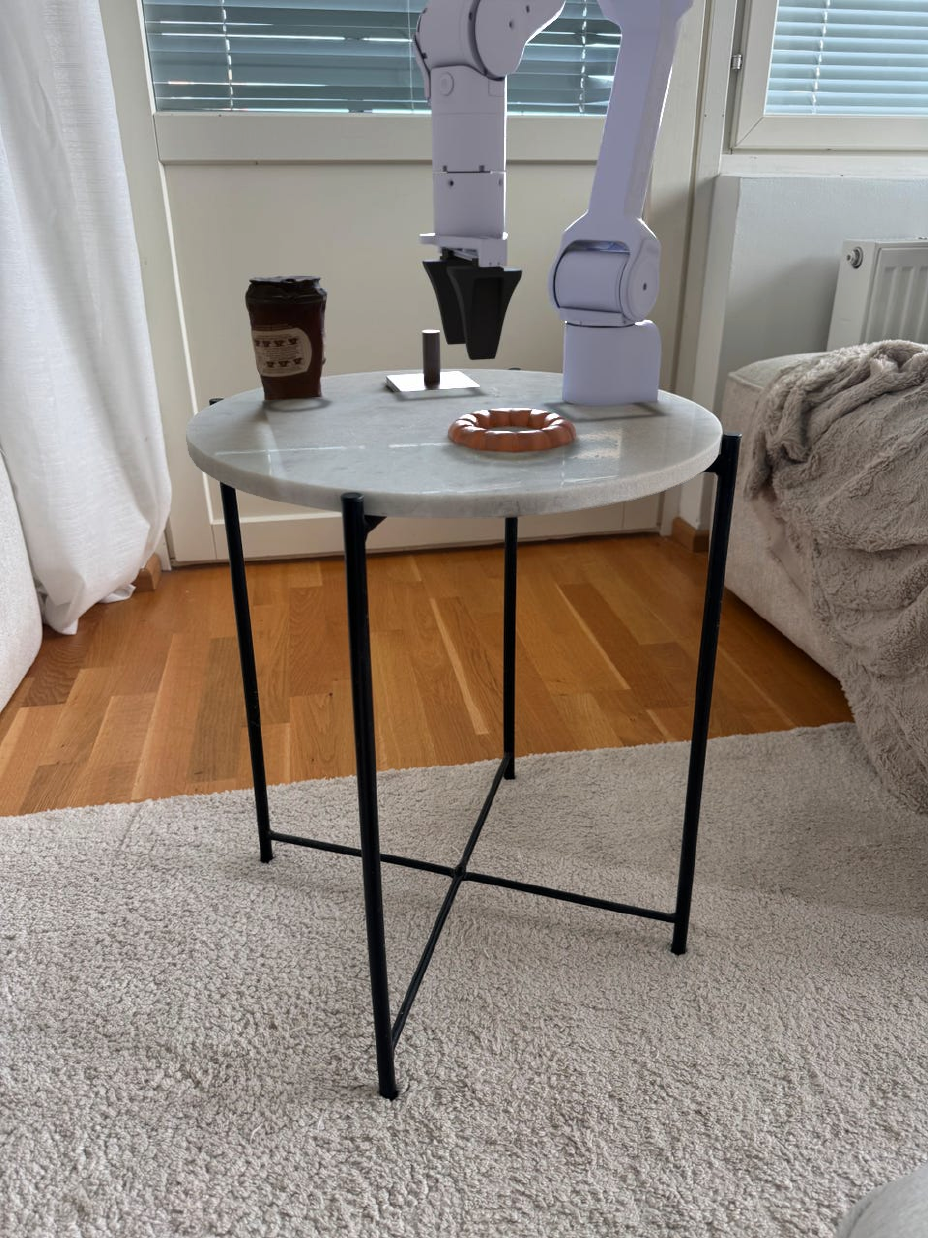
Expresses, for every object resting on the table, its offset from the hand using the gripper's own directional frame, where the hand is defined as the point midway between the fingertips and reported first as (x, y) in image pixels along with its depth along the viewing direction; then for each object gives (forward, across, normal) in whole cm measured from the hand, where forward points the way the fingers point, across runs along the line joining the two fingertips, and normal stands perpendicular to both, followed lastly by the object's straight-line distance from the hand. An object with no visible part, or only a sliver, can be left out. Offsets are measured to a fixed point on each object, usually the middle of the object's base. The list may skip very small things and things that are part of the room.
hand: (469, 350), depth 78 cm
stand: (+9, -27, +3) cm, 28 cm away
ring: (+8, 0, +4) cm, 8 cm away
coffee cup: (+9, -24, -13) cm, 29 cm away
